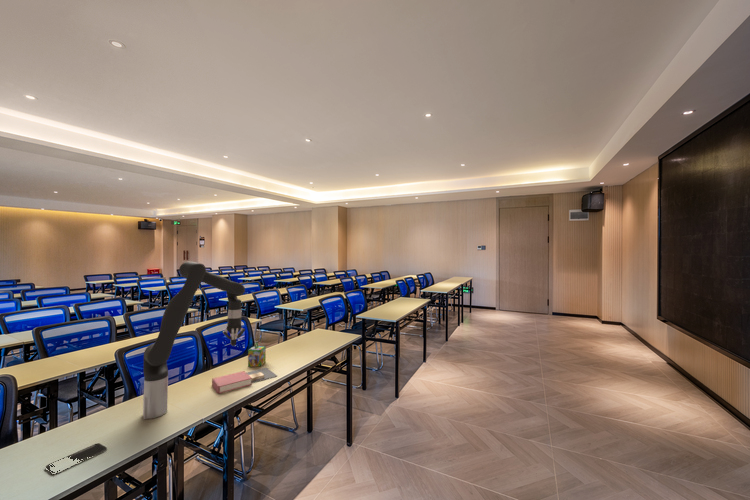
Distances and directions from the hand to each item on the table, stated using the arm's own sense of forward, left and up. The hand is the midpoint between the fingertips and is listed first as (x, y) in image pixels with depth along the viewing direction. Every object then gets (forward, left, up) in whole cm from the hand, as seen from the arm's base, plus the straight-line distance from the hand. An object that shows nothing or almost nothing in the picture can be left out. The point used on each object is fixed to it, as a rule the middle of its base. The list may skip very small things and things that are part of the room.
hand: (233, 345), depth 179 cm
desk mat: (+16, -1, -22) cm, 27 cm away
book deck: (-2, -5, -22) cm, 22 cm away
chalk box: (+21, +19, -22) cm, 36 cm away
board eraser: (+11, -5, -21) cm, 25 cm away
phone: (-64, -35, -22) cm, 76 cm away
